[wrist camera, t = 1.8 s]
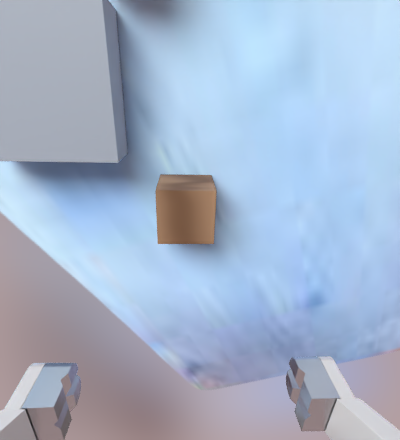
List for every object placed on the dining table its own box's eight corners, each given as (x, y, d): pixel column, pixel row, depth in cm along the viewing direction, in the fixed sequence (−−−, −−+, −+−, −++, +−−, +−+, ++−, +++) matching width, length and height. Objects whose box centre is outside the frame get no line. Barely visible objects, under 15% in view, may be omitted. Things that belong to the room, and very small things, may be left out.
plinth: (115, 9, 21) (101, -9, 17) (127, 153, 26) (118, 162, 22) (-33, 2, 20) (-80, -18, 17) (6, 151, 25) (-24, 160, 21)
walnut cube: (211, 174, 27) (216, 190, 22) (209, 220, 29) (213, 243, 24) (160, 174, 27) (155, 190, 22) (162, 220, 29) (157, 243, 24)
